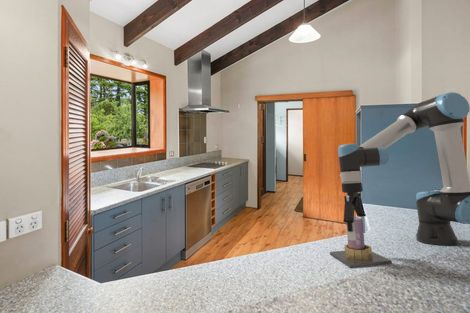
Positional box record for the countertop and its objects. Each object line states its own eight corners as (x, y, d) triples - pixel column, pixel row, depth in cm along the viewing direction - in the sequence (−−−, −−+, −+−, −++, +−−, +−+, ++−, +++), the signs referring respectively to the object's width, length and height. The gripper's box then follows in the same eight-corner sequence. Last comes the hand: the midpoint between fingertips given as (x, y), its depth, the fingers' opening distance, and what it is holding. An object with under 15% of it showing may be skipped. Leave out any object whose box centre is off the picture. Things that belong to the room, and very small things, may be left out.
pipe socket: (366, 251, 110) (365, 240, 110) (391, 263, 94) (390, 250, 94) (330, 254, 108) (329, 243, 109) (350, 267, 92) (348, 254, 93)
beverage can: (364, 254, 102) (361, 216, 104) (366, 259, 97) (363, 218, 98) (348, 253, 105) (345, 216, 106) (349, 258, 99) (346, 218, 100)
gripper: (350, 181, 115) (356, 229, 114) (330, 184, 96) (336, 242, 95) (369, 180, 111) (374, 230, 109) (352, 183, 92) (358, 244, 90)
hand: (357, 236), depth 102 cm, fingers open, 13 cm apart
